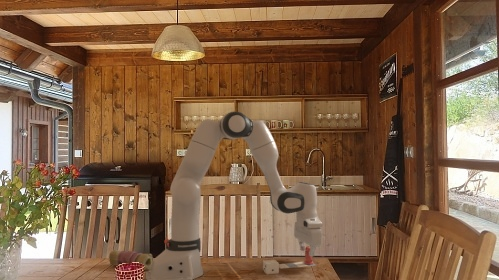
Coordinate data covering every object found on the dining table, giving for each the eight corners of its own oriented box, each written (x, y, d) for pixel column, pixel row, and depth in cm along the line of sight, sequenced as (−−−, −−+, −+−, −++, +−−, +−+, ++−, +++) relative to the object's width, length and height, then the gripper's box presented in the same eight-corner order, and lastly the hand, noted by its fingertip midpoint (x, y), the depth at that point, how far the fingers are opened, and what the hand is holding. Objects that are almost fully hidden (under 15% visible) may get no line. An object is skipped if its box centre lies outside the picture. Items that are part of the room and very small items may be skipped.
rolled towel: (158, 263, 163) (123, 258, 172) (153, 249, 160) (118, 244, 170) (146, 276, 157) (111, 269, 166) (141, 261, 154) (106, 255, 163)
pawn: (306, 265, 160) (306, 247, 160) (302, 262, 164) (302, 245, 164) (314, 264, 161) (314, 247, 162) (311, 261, 165) (310, 245, 165)
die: (262, 273, 153) (266, 277, 148) (262, 260, 154) (266, 264, 148) (275, 272, 155) (279, 276, 150) (275, 259, 155) (279, 263, 150)
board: (280, 271, 156) (280, 268, 156) (275, 267, 161) (275, 264, 161) (316, 267, 160) (316, 265, 160) (310, 263, 166) (310, 261, 166)
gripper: (290, 216, 172) (290, 247, 172) (310, 224, 153) (310, 259, 152) (303, 216, 174) (303, 246, 174) (324, 224, 155) (324, 258, 154)
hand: (306, 253), depth 163 cm, fingers open, 8 cm apart
